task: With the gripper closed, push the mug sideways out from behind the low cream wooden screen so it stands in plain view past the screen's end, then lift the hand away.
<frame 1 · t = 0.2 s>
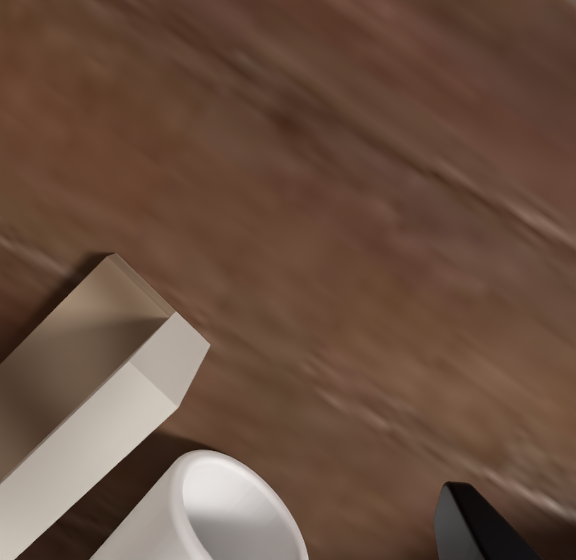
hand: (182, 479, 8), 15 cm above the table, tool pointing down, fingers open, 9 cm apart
screen: (72, 442, 25), on the table
mug: (222, 549, 26), on the table
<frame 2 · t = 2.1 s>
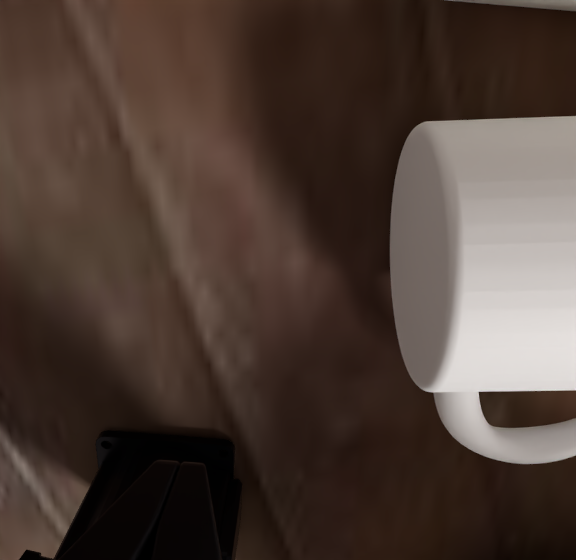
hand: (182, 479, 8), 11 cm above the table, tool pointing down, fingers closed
mug: (511, 263, 19), on the table
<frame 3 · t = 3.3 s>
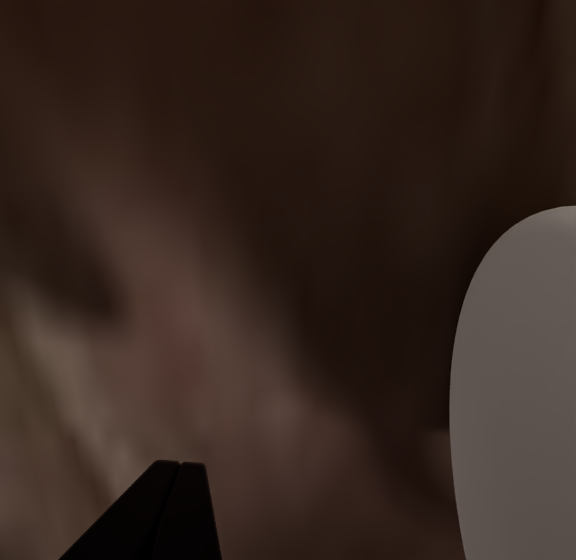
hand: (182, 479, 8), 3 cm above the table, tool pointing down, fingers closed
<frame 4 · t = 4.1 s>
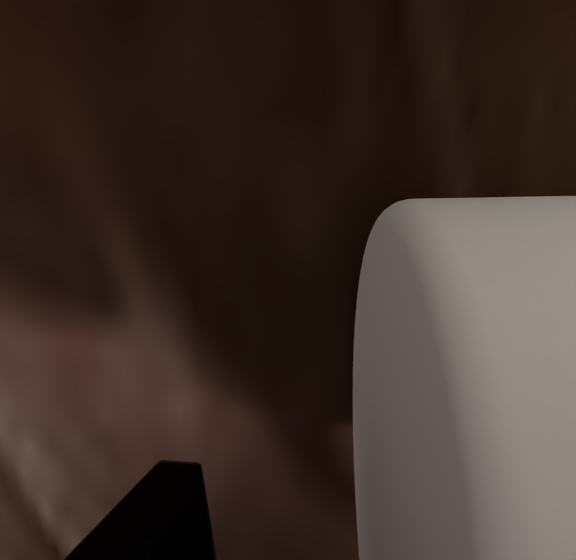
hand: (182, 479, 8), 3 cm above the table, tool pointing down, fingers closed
mug: (568, 414, 11), on the table, touching gripper
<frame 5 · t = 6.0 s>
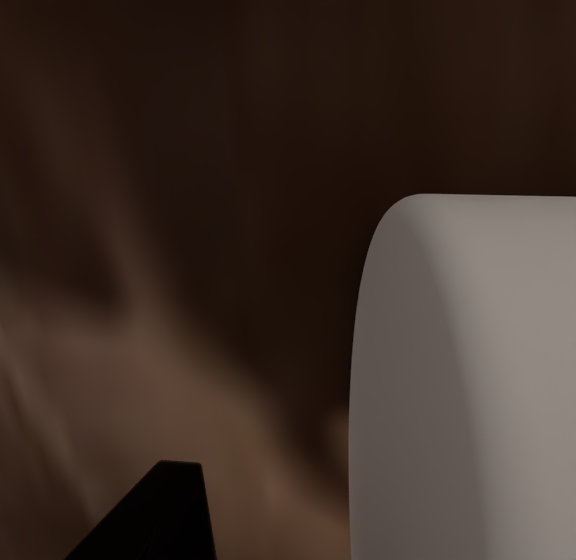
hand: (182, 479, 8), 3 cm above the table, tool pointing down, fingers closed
mug: (562, 417, 11), on the table, touching gripper
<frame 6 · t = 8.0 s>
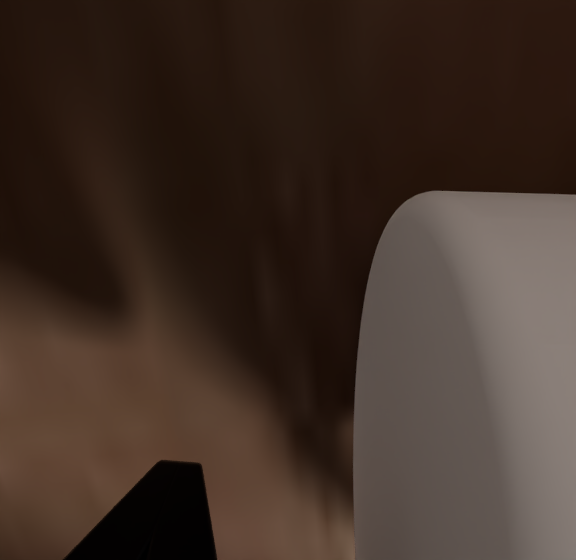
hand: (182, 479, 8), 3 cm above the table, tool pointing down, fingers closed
mug: (568, 419, 11), on the table, touching gripper
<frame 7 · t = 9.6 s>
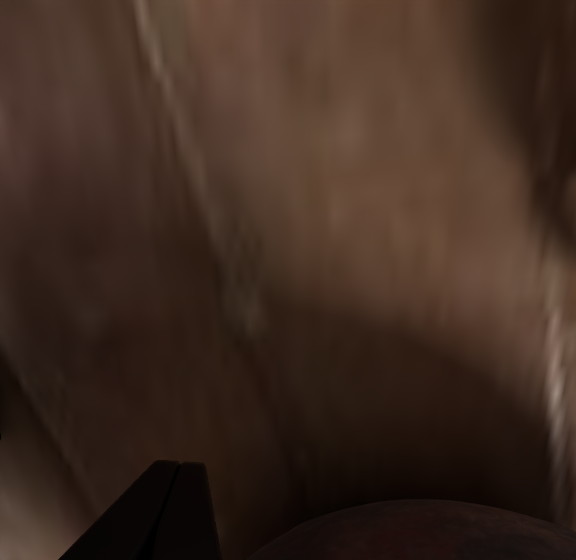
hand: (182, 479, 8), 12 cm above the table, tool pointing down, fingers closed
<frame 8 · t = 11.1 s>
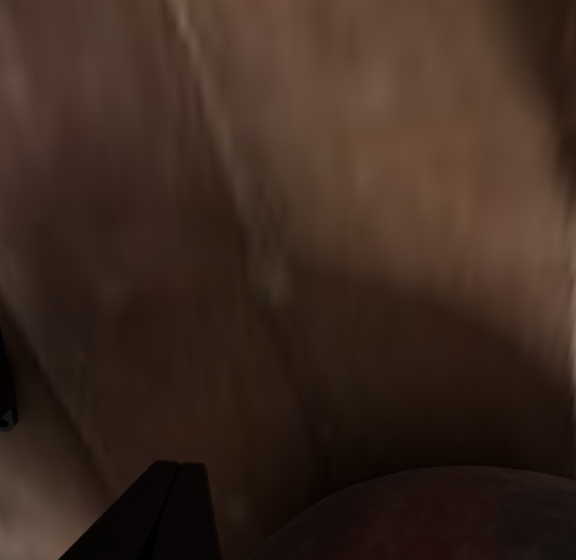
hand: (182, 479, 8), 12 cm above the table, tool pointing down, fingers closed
jug: (430, 557, 27), on the table
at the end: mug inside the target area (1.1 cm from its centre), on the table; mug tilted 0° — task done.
